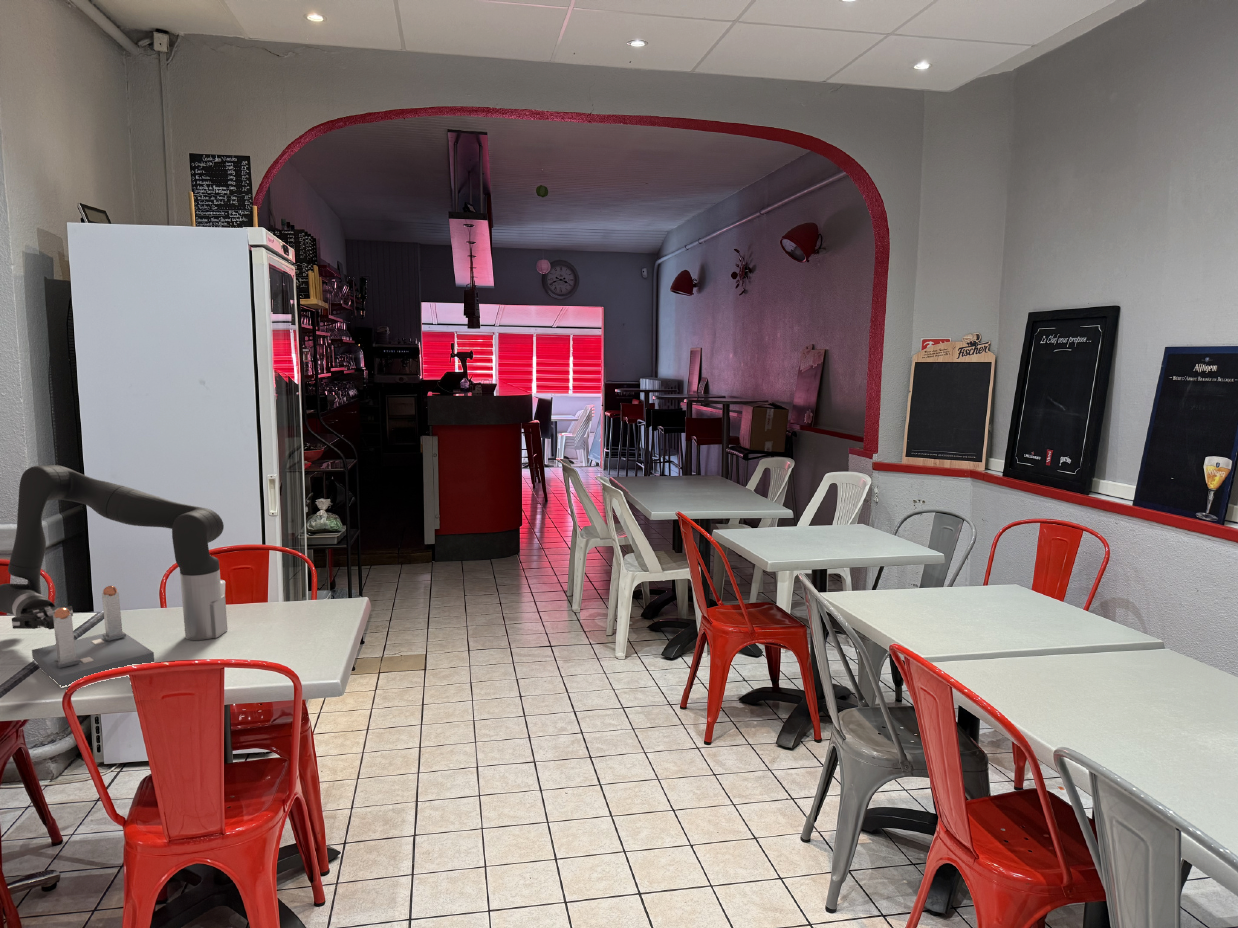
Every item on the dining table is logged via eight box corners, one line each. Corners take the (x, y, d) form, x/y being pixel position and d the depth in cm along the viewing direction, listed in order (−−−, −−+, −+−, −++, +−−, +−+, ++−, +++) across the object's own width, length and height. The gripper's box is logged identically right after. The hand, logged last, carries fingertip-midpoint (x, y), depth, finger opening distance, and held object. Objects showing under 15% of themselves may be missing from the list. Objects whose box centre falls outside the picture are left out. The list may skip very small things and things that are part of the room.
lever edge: (54, 663, 187) (48, 608, 185) (74, 658, 190) (69, 603, 188) (59, 667, 184) (53, 611, 183) (80, 662, 187) (74, 607, 186)
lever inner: (102, 637, 204) (97, 586, 202) (120, 633, 207) (116, 582, 205) (108, 640, 202) (103, 589, 200) (126, 636, 205) (121, 585, 203)
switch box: (33, 661, 197) (31, 649, 197) (121, 640, 211) (119, 628, 211) (61, 688, 181) (60, 674, 181) (154, 664, 195) (153, 651, 195)
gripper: (-1, 601, 199) (17, 616, 187) (62, 589, 208) (83, 602, 197) (3, 631, 200) (21, 647, 188) (66, 617, 209) (87, 632, 198)
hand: (53, 624), depth 192 cm, fingers closed
